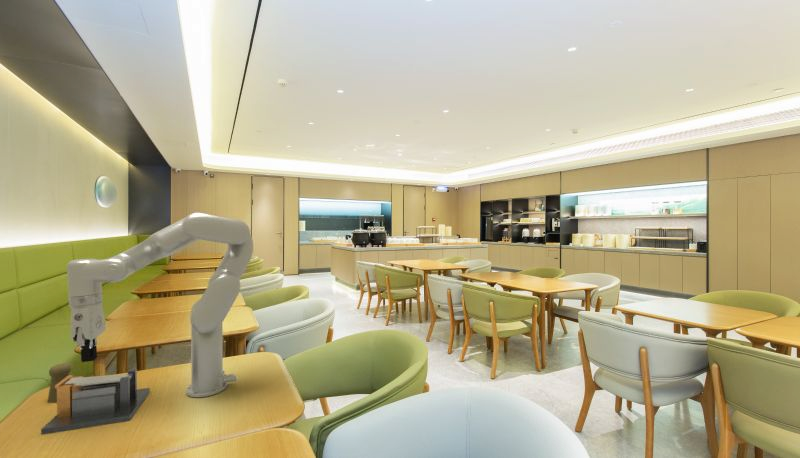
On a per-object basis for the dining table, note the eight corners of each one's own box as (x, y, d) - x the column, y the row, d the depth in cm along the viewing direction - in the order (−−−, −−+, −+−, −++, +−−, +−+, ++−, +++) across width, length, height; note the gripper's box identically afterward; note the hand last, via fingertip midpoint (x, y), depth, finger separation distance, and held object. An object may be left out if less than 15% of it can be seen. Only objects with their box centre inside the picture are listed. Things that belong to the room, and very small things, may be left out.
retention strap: (133, 376, 112) (133, 372, 112) (128, 381, 108) (128, 378, 108) (71, 381, 106) (71, 377, 106) (64, 387, 103) (64, 383, 103)
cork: (57, 403, 112) (56, 369, 111) (42, 401, 113) (41, 367, 112) (78, 394, 117) (77, 362, 117) (63, 392, 119) (63, 360, 118)
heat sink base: (149, 392, 119) (149, 360, 119) (129, 420, 102) (129, 383, 102) (75, 402, 112) (75, 368, 112) (41, 434, 96) (40, 394, 95)
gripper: (89, 304, 100) (93, 368, 100) (111, 294, 114) (114, 349, 115) (55, 307, 97) (59, 372, 98) (82, 296, 111) (86, 353, 112)
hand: (89, 360), depth 106 cm, fingers closed
